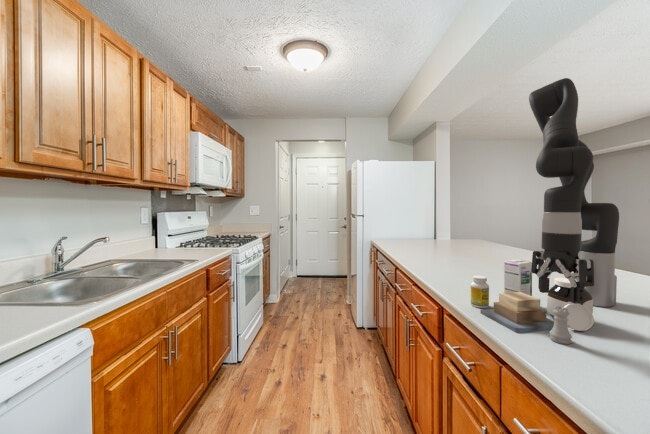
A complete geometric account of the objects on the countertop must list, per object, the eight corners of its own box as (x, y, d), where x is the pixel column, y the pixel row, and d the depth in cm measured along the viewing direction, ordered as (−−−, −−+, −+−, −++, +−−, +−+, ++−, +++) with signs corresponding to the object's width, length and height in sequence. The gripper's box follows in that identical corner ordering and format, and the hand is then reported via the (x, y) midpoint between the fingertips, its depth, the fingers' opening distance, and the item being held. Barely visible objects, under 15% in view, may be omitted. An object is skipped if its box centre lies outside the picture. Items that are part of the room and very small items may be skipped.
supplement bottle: (476, 302, 102) (476, 274, 101) (492, 306, 97) (492, 277, 97) (467, 305, 99) (467, 276, 98) (483, 309, 94) (483, 279, 94)
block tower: (521, 310, 94) (521, 288, 93) (562, 328, 80) (563, 302, 79) (480, 313, 92) (480, 290, 91) (515, 332, 78) (515, 305, 78)
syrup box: (520, 308, 95) (520, 263, 95) (503, 302, 101) (503, 260, 100) (532, 306, 97) (533, 261, 97) (514, 300, 103) (515, 258, 102)
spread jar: (570, 314, 89) (571, 276, 89) (613, 330, 78) (614, 286, 78) (536, 318, 87) (536, 278, 87) (574, 334, 76) (575, 289, 76)
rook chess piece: (544, 337, 75) (544, 305, 75) (560, 336, 75) (561, 304, 75) (559, 345, 70) (560, 312, 70) (577, 344, 71) (578, 311, 70)
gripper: (606, 233, 65) (603, 306, 66) (549, 228, 79) (547, 288, 80) (575, 234, 64) (573, 308, 65) (523, 228, 78) (522, 289, 79)
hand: (559, 297), depth 73 cm, fingers open, 8 cm apart
